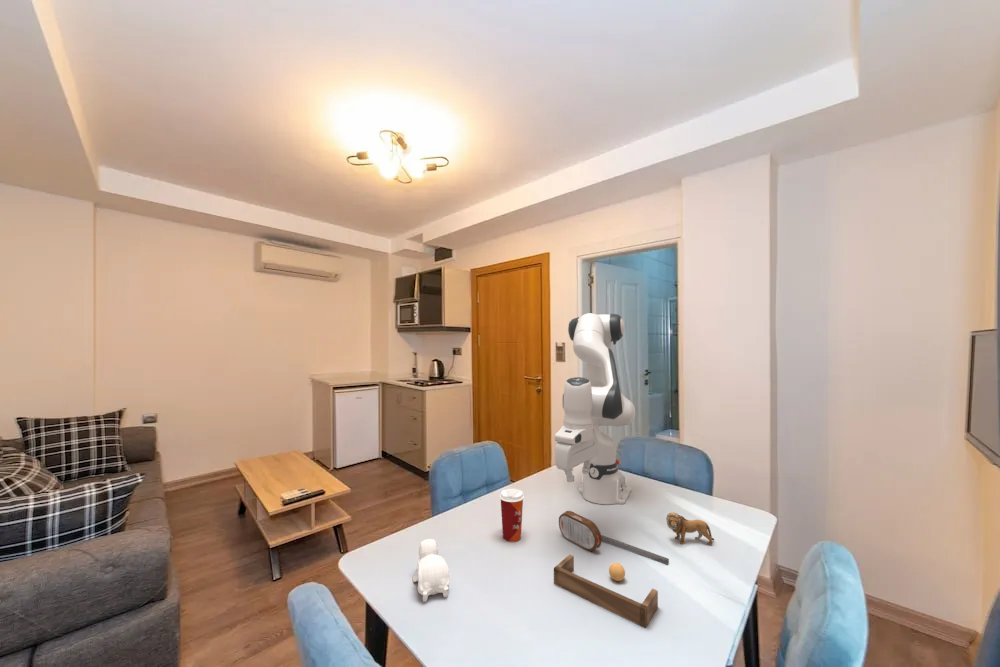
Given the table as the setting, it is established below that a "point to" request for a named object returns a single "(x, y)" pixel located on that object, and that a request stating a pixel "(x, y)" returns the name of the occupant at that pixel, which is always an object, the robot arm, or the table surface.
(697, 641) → the table surface
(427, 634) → the table surface
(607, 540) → the rail
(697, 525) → the lion figurine
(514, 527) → the paper cup
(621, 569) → the ball
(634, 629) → the table surface
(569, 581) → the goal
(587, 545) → the tin
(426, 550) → the white animal figurine
